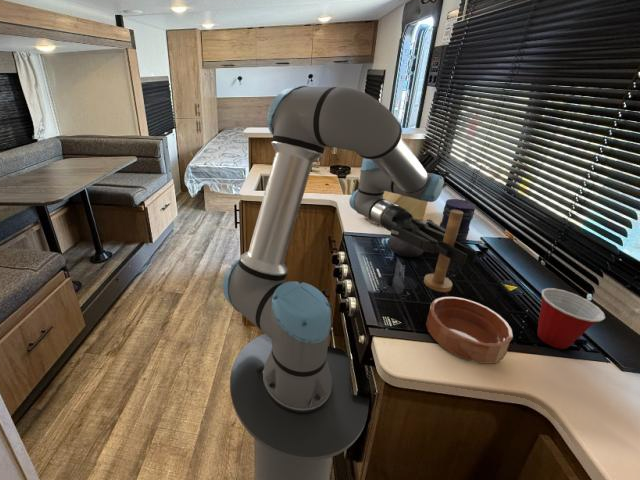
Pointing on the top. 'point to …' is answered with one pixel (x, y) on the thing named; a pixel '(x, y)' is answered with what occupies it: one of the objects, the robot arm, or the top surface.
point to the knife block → (413, 204)
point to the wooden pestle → (439, 277)
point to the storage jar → (467, 216)
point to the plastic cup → (565, 317)
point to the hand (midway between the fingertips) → (469, 258)
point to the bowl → (469, 329)
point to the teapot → (403, 247)
